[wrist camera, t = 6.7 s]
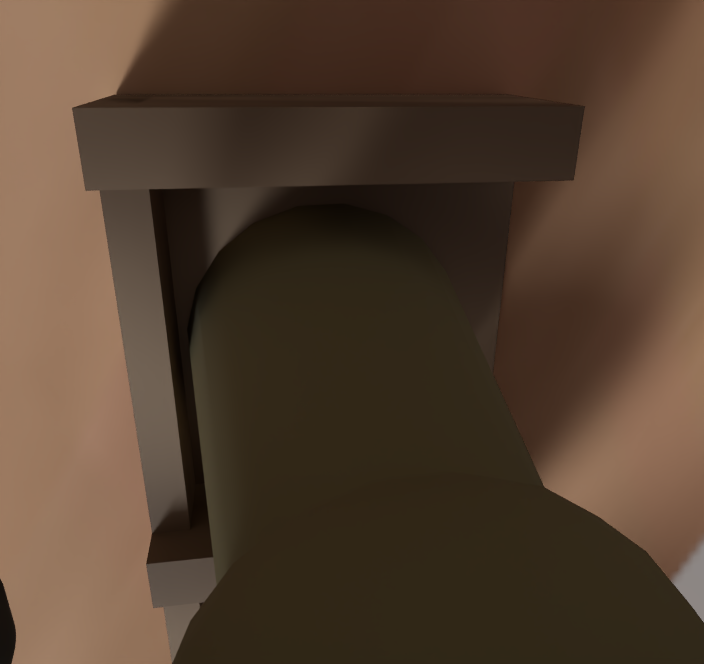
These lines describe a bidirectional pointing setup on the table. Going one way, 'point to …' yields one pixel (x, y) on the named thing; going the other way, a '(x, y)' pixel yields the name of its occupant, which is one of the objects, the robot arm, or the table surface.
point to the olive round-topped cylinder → (388, 475)
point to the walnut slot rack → (270, 199)
